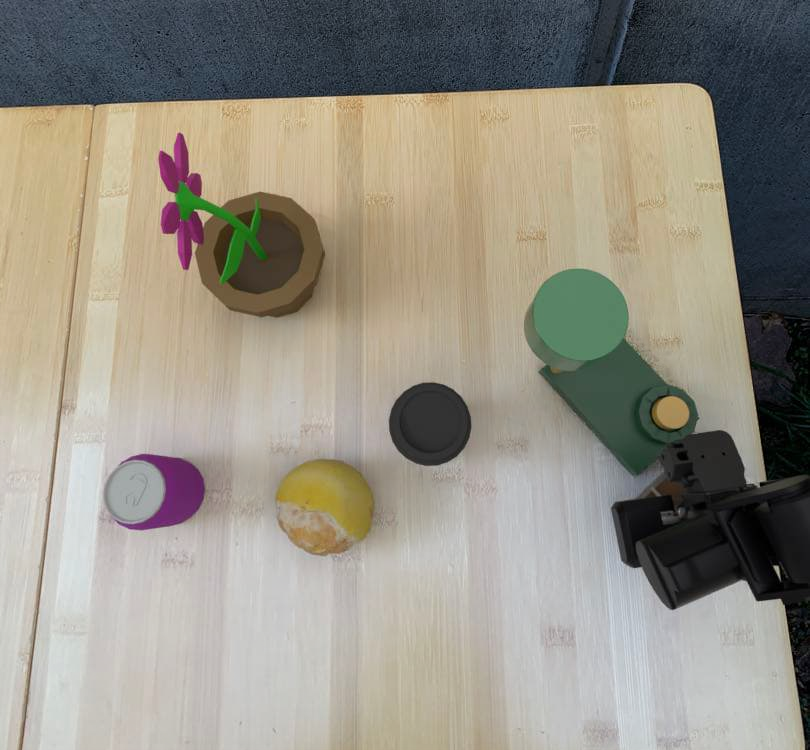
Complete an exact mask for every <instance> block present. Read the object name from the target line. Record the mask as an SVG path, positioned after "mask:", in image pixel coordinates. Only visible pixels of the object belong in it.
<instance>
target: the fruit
mask: <svg viewBox="0 0 810 750" xmlns="http://www.w3.org/2000/svg"><path fill="white" fill-rule="evenodd" d="M275 493H276V494H275V496H274V497H275V499H274V500H275V505H276V521H277V524H278V527H279V529H280V531H282V532H283V533H285V534H286V535H287V539H288V540H289V542H291V543H292V544H293V545H294V546H295V547H297V548H299V549H302V550H303V551H304V552H305V553H307V554H309V555H313V556H318V557H328V555H331V554H336V555H340V554H342V553H345V552H347V551H348V550H349V549H351V548H352V547H353V546H354V545H357V544H359V543H361V542H363V541H364V540H366V538H367V537H368V535H369V533H370V530H371V528H372V524H373V520H374V515H375V514H374V513H375V508H376V507H375V500H374V494H373V491H372V489H371V487H370V485H369V484H368V482H367V480H366V478H365V477H364V476H363V474H362V473H361V472H360V471H358V470H357V469H356V468H354V467H353V466H351V465H350V464H348V462H344V461H342V460H338V459H332V458H317V459H313V460H308V461H306V462H303V463H302V464H300V465H298V466H297V467H295V468H293V469H291V470H290V472H288V473H287V474H286V476H285V477H284V478H283V479H282V480H281V482H280V484H279V485H278V488H277V490H276V492H275Z"/></svg>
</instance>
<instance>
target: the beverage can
mask: <svg viewBox="0 0 810 750" xmlns="http://www.w3.org/2000/svg"><path fill="white" fill-rule="evenodd" d="M205 490H206V487H205V480H204V477H203V475H202V473H201V472H200V470H199V468H198V467H196V466H195V465H194V464H193V462H190V461H188V460H186V459H184V458H182V457H174V456H167V455H159V454H151V453H140V454H136V455H132V456H130V457H128V458H126V459H125V460H123V461H121V462H120V463H119V464H118V465H117V466H116V467H115V468H114V469H113V470H112V471H111V472H110V473H109V474H108V476H107V478H106V480H105V481H104V484H103V490H102V501H103V505H104V507H105V509H106V512H107V514H109V516H110V517H111V518H112V519H113V520H114V521H115V522H116V523H117V524H118V526H119V525H120V526H122V527H124V528H126V529H127V530H133V531H146V530H147V531H148V530H154V529H160V528H167V527H172V526H176V525H181V524H182V523H184V522H187V521H188V520H189V519H191V518H192V517H193V516H194V515H195V514H196V513H197V512H198V511H199V510H200V507H201V505H202V503H203V502H204V497H205Z"/></svg>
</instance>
